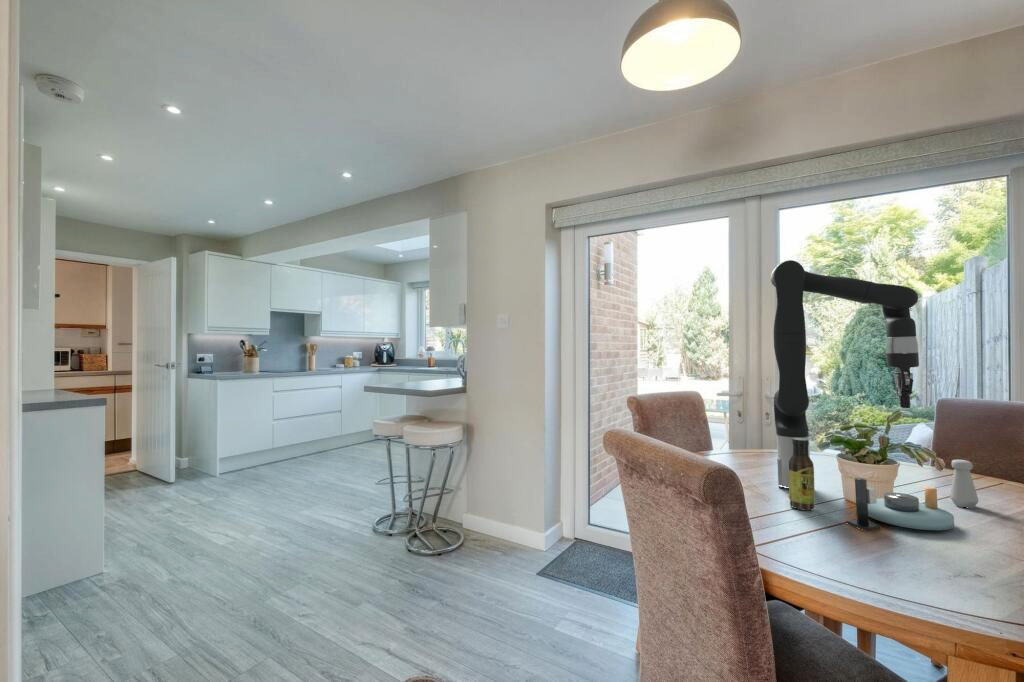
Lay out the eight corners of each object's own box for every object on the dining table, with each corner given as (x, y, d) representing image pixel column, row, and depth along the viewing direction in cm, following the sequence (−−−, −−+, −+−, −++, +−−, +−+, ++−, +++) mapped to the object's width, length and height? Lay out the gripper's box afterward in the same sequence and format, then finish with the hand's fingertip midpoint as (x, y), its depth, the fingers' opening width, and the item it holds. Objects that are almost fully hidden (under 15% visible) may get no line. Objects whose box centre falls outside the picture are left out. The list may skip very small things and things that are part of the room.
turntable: (909, 532, 109) (907, 503, 109) (846, 507, 126) (845, 482, 127) (975, 527, 110) (973, 498, 111) (903, 503, 128) (902, 478, 129)
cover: (903, 513, 116) (902, 500, 116) (877, 504, 123) (876, 492, 123) (926, 511, 117) (926, 498, 117) (899, 502, 124) (899, 490, 124)
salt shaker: (966, 503, 131) (963, 458, 131) (985, 509, 125) (982, 462, 126) (944, 502, 132) (942, 458, 132) (962, 509, 126) (959, 462, 126)
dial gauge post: (863, 530, 113) (861, 482, 114) (845, 523, 118) (843, 477, 119) (885, 528, 114) (882, 480, 115) (866, 521, 119) (864, 475, 120)
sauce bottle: (805, 512, 127) (802, 441, 127) (784, 506, 132) (781, 438, 133) (820, 509, 129) (817, 439, 130) (799, 503, 135) (796, 436, 135)
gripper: (883, 351, 148) (885, 405, 147) (890, 352, 136) (893, 409, 136) (913, 351, 144) (916, 405, 143) (923, 351, 132) (926, 410, 132)
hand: (905, 407), depth 139 cm, fingers closed
